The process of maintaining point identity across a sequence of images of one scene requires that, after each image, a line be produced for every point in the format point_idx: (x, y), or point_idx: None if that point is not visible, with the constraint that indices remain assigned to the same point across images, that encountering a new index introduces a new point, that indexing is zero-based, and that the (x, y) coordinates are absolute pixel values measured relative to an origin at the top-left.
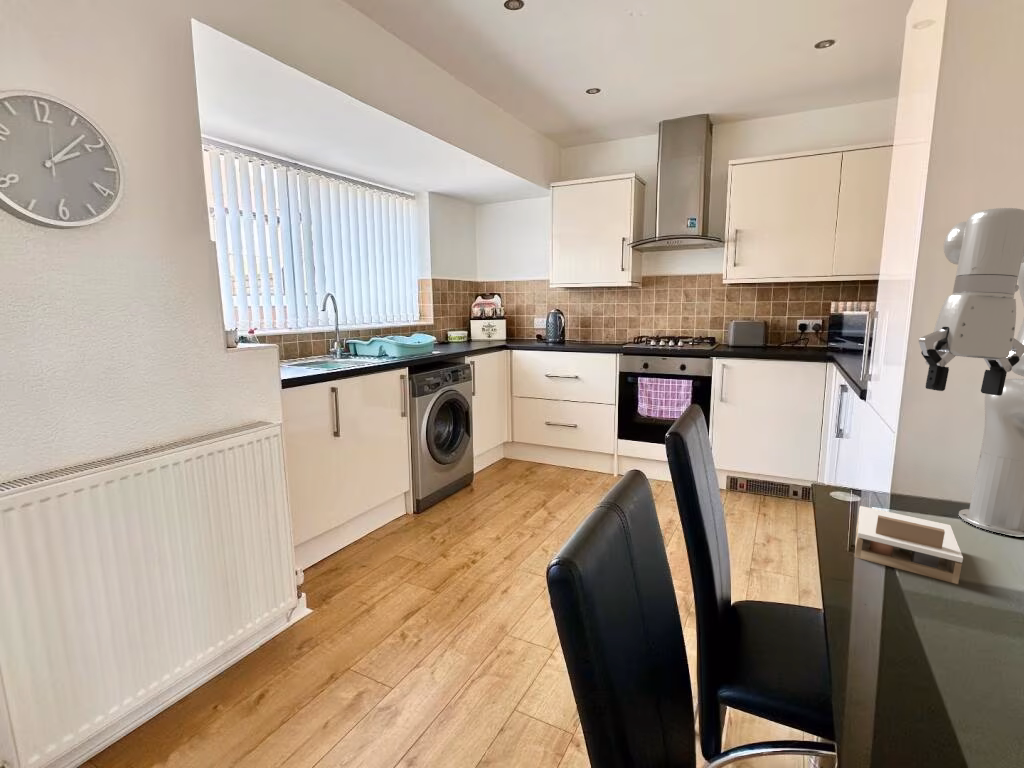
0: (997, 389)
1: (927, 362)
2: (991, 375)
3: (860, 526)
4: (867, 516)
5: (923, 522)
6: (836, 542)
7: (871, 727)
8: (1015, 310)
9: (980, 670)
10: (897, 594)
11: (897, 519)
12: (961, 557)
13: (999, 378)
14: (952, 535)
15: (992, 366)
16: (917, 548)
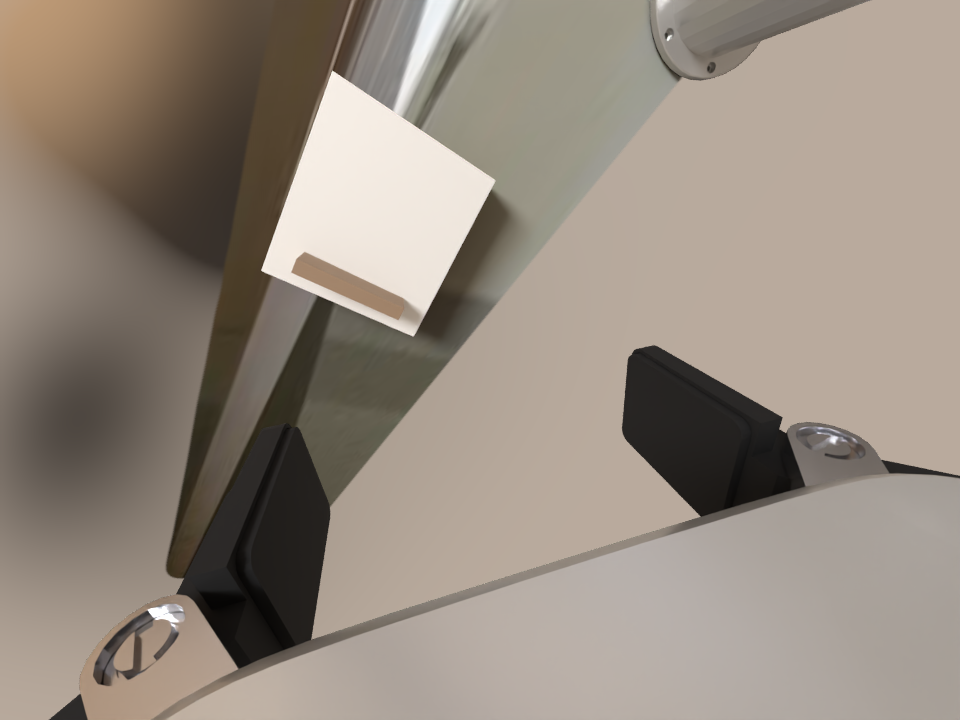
0: (638, 450)
1: (116, 654)
2: (703, 457)
3: (278, 232)
4: (321, 159)
5: (443, 175)
6: (269, 172)
7: (191, 557)
8: None
9: (329, 472)
10: (309, 354)
11: (331, 276)
12: (412, 335)
13: (683, 494)
14: (461, 240)
15: (785, 484)
16: (357, 311)
